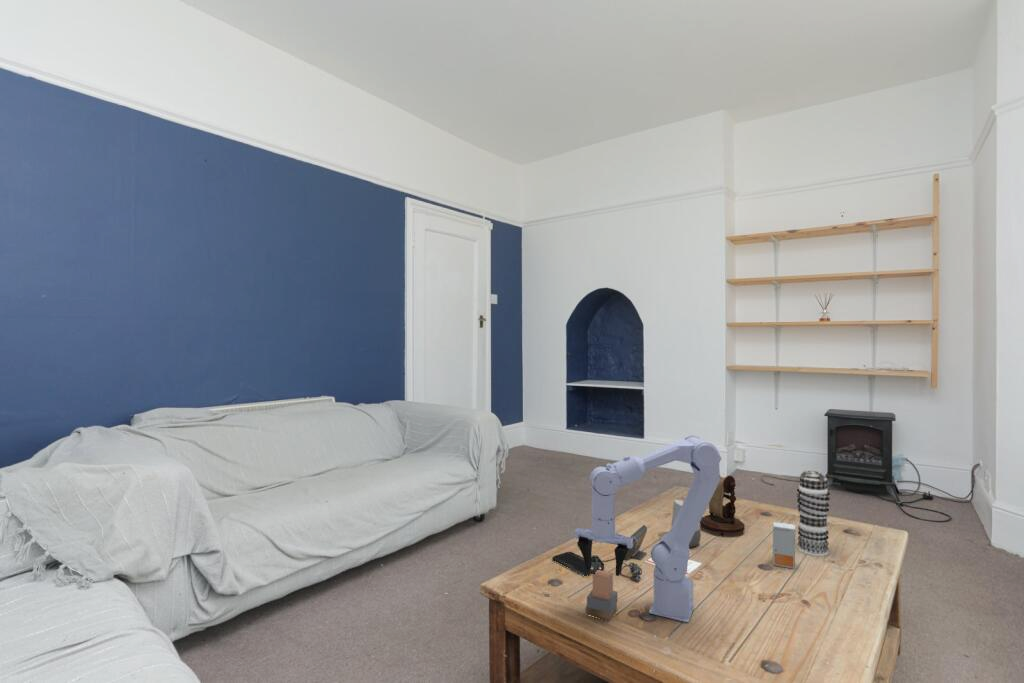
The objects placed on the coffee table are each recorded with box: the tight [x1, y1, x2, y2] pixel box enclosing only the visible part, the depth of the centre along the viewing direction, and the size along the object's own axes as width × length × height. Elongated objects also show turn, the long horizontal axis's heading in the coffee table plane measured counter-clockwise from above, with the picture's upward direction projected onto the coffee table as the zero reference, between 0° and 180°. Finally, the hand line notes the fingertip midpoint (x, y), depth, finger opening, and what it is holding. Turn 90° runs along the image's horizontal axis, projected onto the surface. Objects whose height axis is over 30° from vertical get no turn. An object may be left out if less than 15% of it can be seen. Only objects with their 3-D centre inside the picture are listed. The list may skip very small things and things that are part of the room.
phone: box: [552, 551, 595, 577], centre depth 159 cm, size 8×1×15 cm
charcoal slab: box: [586, 588, 618, 613], centre depth 131 cm, size 6×6×2 cm
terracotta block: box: [592, 570, 614, 600], centre depth 131 cm, size 4×4×5 cm
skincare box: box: [772, 521, 796, 570], centre depth 158 cm, size 6×4×12 cm
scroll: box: [700, 475, 746, 537], centre depth 187 cm, size 15×15×20 cm
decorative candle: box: [796, 470, 831, 557], centre depth 168 cm, size 9×9×25 cm
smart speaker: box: [670, 499, 702, 548], centre depth 175 cm, size 10×9×14 cm
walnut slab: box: [585, 603, 618, 622], centre depth 131 cm, size 6×6×2 cm
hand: (603, 571), depth 131 cm, fingers open, 7 cm apart
